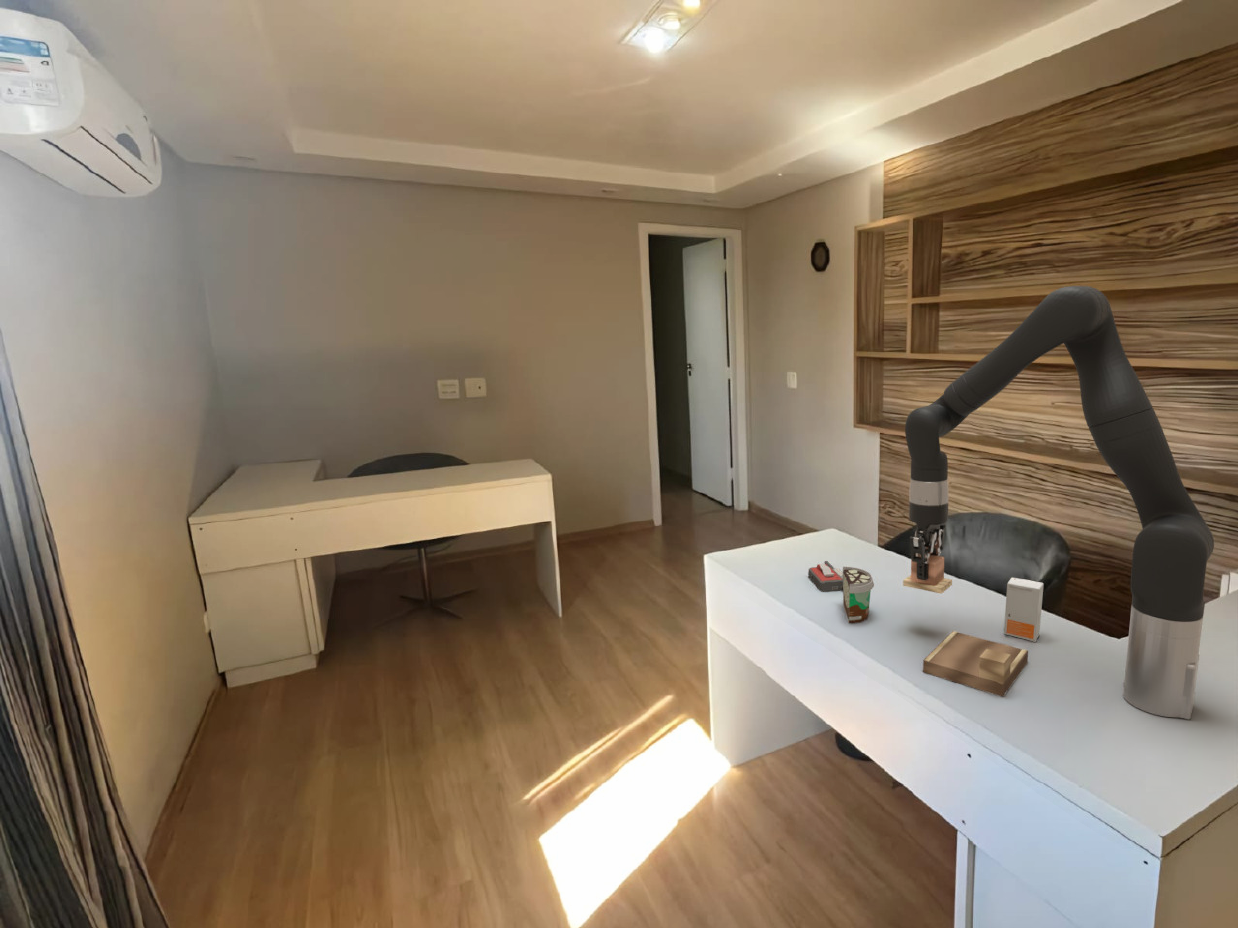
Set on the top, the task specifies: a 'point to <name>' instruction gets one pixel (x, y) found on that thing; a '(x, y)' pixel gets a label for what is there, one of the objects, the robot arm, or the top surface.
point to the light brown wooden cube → (994, 665)
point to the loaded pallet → (928, 587)
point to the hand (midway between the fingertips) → (927, 575)
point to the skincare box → (1023, 609)
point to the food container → (856, 593)
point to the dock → (971, 662)
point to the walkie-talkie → (826, 577)
